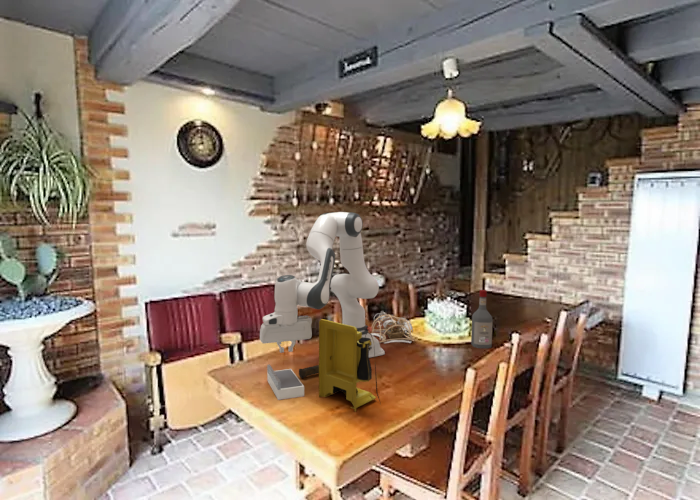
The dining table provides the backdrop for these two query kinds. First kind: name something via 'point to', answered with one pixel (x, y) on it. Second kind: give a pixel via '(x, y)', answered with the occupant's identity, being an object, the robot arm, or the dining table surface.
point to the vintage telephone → (344, 362)
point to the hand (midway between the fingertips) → (286, 351)
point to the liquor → (482, 324)
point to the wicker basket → (392, 328)
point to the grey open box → (284, 383)
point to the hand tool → (308, 371)
